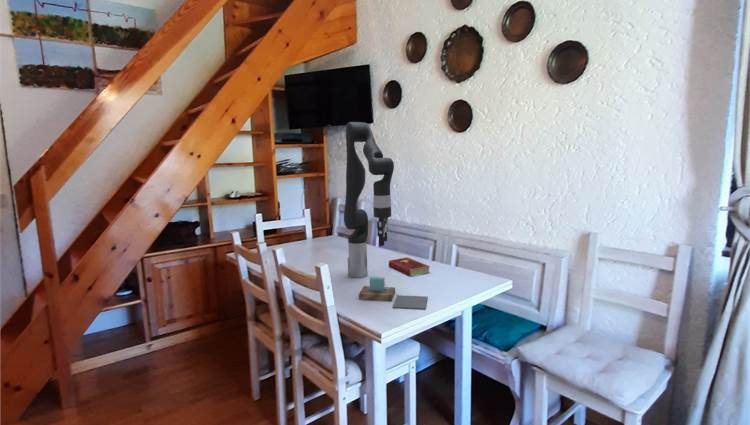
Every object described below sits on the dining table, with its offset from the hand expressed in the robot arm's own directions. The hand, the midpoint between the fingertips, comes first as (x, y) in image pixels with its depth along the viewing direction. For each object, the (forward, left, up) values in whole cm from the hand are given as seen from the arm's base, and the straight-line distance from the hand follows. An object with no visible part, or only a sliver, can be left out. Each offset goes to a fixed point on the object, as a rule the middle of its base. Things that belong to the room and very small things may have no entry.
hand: (383, 243), depth 176 cm
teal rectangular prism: (-3, -2, -23) cm, 23 cm away
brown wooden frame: (-3, -2, -23) cm, 23 cm away
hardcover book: (+6, +38, -23) cm, 45 cm away
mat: (+12, -8, -23) cm, 27 cm away
